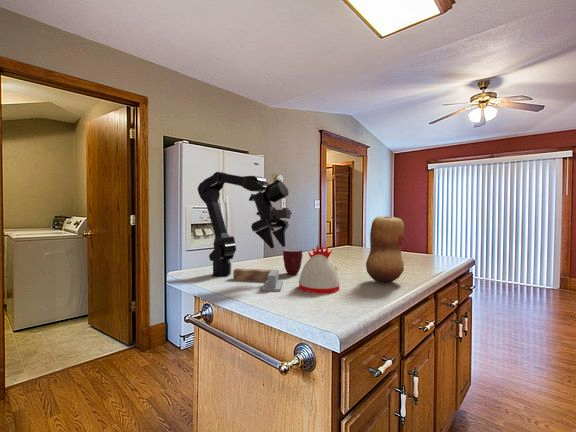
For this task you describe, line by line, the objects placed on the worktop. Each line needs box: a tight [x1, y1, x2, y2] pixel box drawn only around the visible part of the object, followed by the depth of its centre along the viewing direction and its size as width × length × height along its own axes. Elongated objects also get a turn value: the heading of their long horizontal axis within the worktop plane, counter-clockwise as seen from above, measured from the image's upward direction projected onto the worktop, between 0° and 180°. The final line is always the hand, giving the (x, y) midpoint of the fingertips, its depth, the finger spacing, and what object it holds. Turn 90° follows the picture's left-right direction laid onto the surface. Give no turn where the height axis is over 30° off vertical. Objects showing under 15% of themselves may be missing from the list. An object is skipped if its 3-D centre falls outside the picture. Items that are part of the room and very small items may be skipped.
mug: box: [282, 248, 303, 276], centre depth 128 cm, size 11×8×10 cm
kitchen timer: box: [298, 244, 340, 295], centre depth 107 cm, size 14×14×15 cm
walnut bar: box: [232, 268, 272, 282], centre depth 118 cm, size 16×4×4 cm, turn 83°
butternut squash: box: [365, 215, 405, 284], centre depth 116 cm, size 14×13×25 cm
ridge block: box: [261, 269, 284, 292], centre depth 108 cm, size 6×12×5 cm, turn 177°
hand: (278, 247), depth 111 cm, fingers open, 9 cm apart
